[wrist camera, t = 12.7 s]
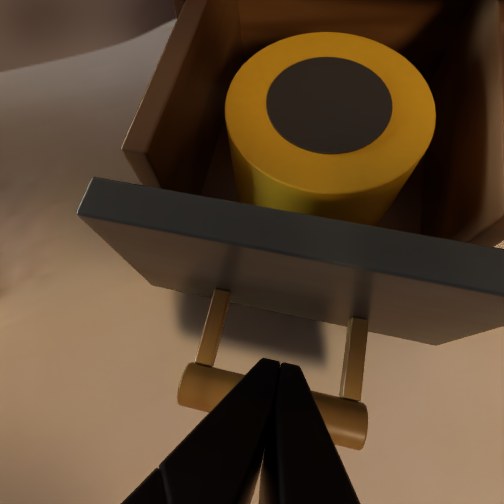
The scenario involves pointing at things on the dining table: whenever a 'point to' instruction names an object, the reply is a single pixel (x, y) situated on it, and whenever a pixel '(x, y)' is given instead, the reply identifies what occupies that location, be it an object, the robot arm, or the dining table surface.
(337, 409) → the drawer
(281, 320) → the dining table surface
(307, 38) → the tape roll
